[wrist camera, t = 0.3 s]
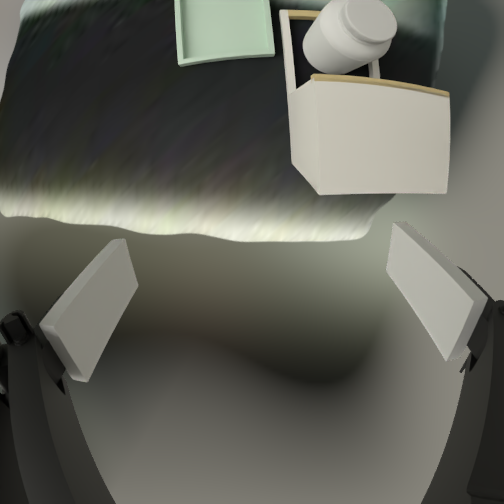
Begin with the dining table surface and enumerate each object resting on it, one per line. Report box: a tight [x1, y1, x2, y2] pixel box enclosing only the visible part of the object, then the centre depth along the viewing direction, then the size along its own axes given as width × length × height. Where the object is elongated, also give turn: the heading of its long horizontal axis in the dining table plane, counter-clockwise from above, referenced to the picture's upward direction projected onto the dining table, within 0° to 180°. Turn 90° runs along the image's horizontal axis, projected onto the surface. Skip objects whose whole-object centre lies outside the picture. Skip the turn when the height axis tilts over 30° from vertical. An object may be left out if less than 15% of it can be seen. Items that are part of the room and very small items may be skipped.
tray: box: [175, 0, 275, 67], centre depth 27 cm, size 12×12×2 cm
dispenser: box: [279, 10, 450, 195], centre depth 24 cm, size 22×13×17 cm, turn 5°
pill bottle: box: [303, 0, 397, 75], centre depth 23 cm, size 8×8×15 cm
